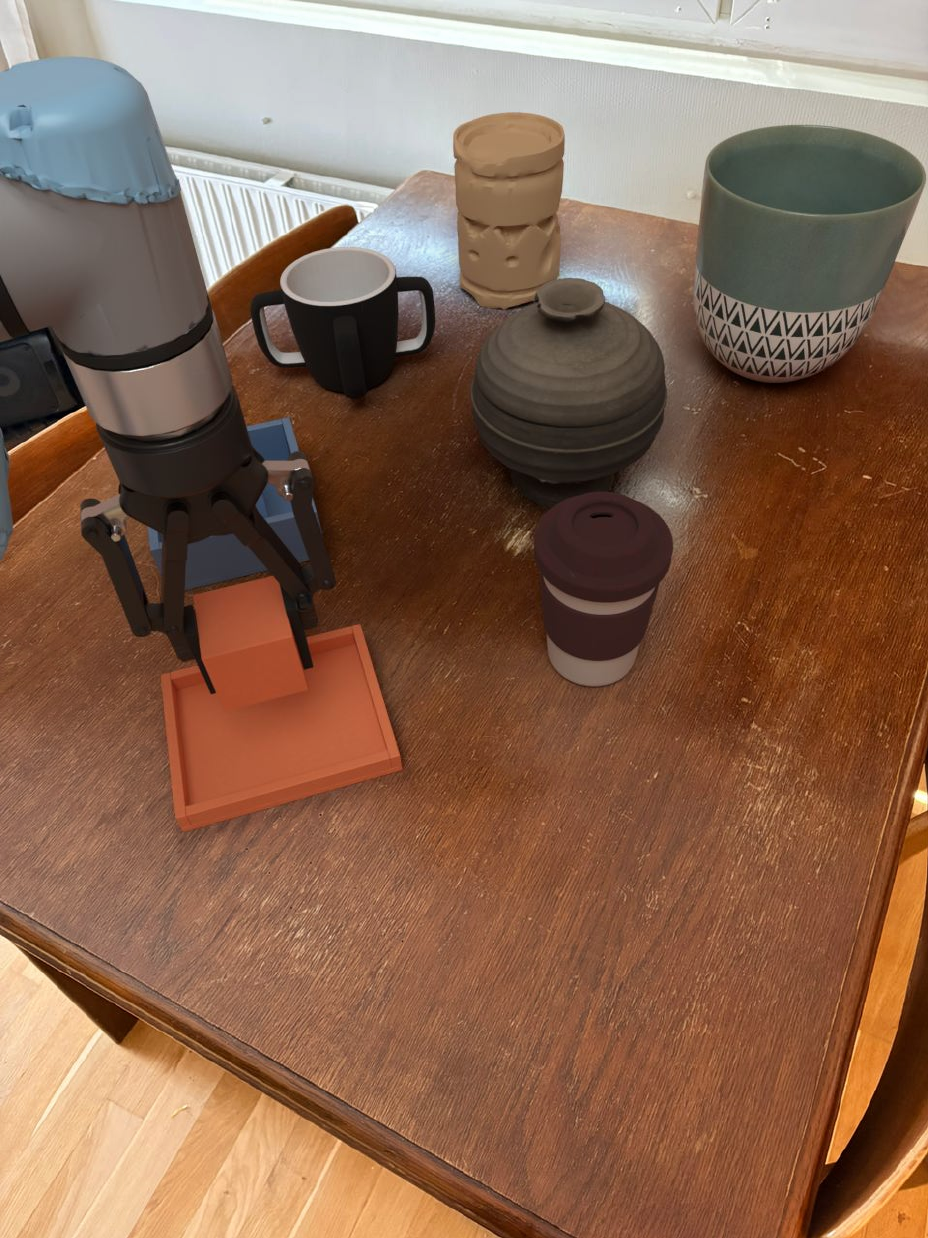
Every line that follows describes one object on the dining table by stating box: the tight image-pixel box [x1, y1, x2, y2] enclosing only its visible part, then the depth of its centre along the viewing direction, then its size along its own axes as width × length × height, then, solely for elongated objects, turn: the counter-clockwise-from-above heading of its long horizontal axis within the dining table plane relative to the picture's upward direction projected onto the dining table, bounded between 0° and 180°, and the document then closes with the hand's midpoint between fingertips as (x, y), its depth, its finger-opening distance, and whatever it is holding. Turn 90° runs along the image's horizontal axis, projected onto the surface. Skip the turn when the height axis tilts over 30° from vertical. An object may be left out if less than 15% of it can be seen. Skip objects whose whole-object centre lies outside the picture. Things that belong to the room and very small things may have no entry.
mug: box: [249, 246, 436, 400], centre depth 98 cm, size 16×16×12 cm
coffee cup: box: [533, 491, 674, 687], centre depth 69 cm, size 10×10×15 cm
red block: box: [192, 575, 308, 712], centre depth 63 cm, size 6×6×6 cm
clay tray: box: [160, 623, 404, 833], centre depth 70 cm, size 17×14×2 cm
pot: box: [469, 277, 668, 509], centre depth 82 cm, size 18×18×20 cm
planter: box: [692, 124, 927, 384], centre depth 92 cm, size 20×20×21 cm
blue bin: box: [147, 416, 324, 591], centre depth 85 cm, size 15×15×6 cm
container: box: [452, 111, 566, 311], centre depth 107 cm, size 13×13×18 cm
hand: (259, 666), depth 65 cm, fingers closed on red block, 6 cm apart
